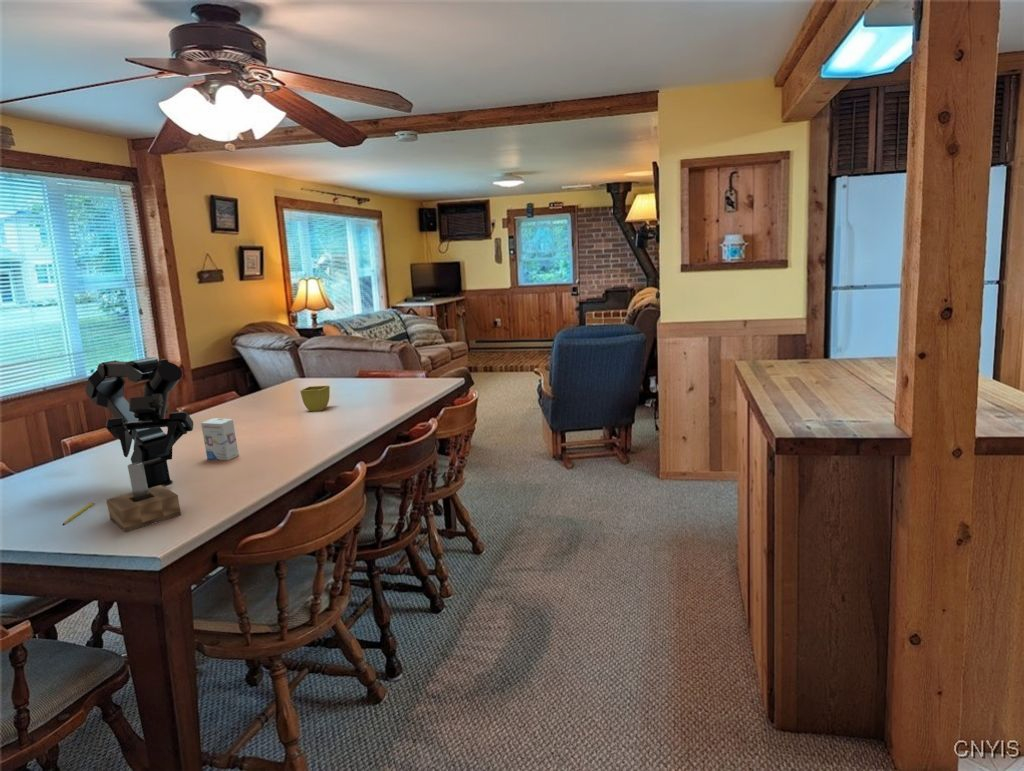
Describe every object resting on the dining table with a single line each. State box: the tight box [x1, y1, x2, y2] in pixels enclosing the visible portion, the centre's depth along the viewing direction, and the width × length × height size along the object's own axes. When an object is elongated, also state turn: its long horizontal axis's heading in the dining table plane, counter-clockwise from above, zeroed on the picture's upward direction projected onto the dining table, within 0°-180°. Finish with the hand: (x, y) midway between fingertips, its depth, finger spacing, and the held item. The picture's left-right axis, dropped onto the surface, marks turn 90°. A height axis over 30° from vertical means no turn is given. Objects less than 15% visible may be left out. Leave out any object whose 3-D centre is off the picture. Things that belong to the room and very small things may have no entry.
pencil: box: [62, 501, 96, 526], centre depth 160 cm, size 1×14×1 cm, turn 6°
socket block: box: [106, 485, 182, 533], centre depth 154 cm, size 12×12×5 cm
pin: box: [127, 462, 150, 502], centre depth 154 cm, size 3×3×12 cm
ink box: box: [200, 417, 240, 461], centre depth 200 cm, size 9×5×12 cm, turn 70°
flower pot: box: [299, 385, 331, 412], centre depth 259 cm, size 9×9×9 cm
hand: (145, 454), depth 159 cm, fingers open, 9 cm apart
